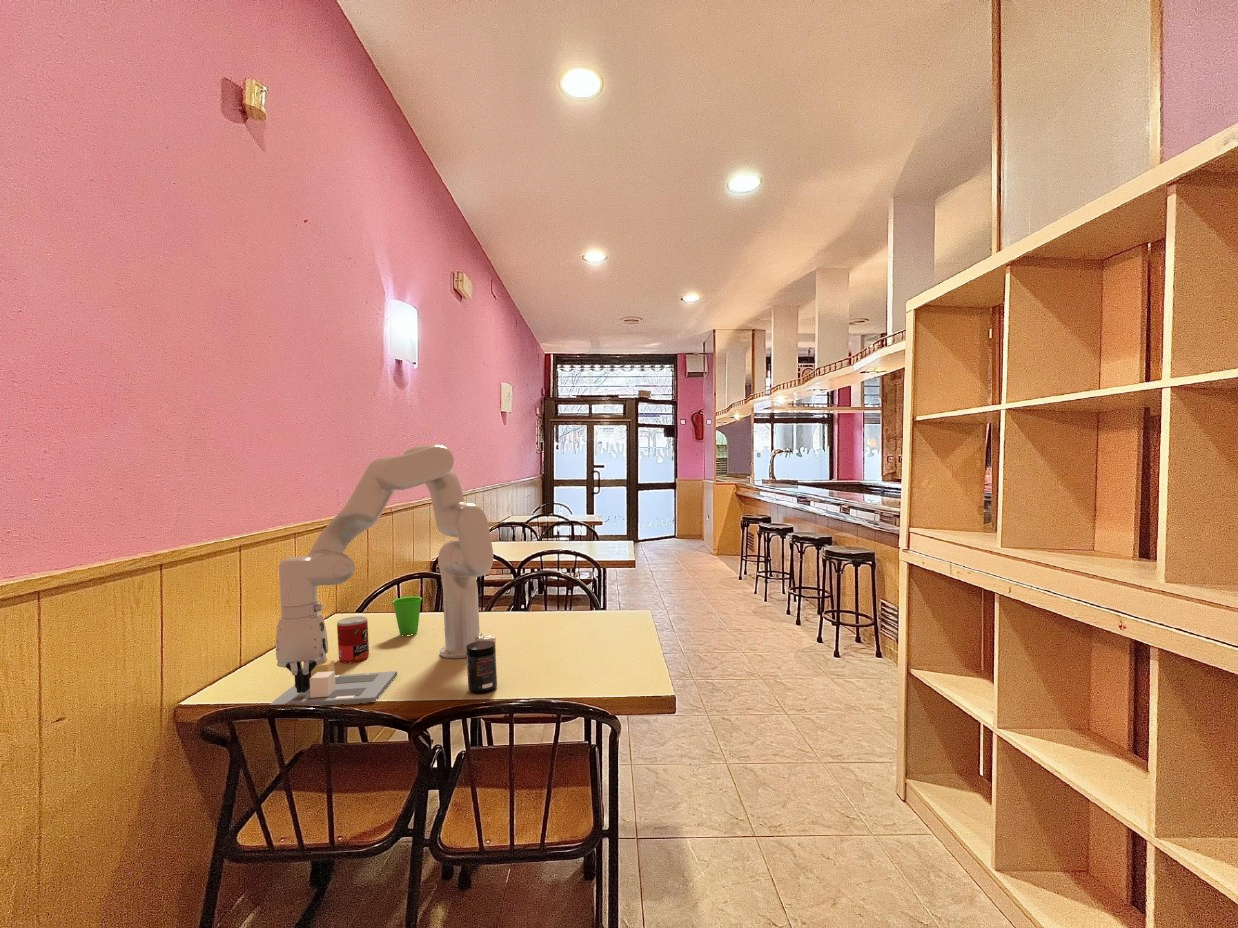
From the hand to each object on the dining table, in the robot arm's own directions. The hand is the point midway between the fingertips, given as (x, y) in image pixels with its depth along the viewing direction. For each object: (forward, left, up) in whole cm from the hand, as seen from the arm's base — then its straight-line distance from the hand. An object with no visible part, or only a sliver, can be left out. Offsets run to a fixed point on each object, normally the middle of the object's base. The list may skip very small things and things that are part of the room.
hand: (303, 690), depth 139 cm
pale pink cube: (-4, 0, -1) cm, 5 cm away
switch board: (-6, -4, -3) cm, 8 cm away
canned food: (-1, -29, -3) cm, 30 cm away
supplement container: (-41, +1, -3) cm, 41 cm away
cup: (-10, -51, -3) cm, 52 cm away
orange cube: (-1, -9, -1) cm, 9 cm away
